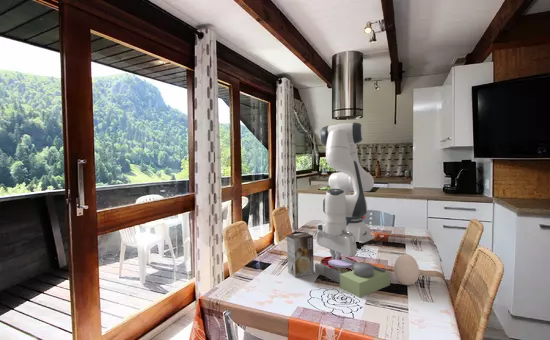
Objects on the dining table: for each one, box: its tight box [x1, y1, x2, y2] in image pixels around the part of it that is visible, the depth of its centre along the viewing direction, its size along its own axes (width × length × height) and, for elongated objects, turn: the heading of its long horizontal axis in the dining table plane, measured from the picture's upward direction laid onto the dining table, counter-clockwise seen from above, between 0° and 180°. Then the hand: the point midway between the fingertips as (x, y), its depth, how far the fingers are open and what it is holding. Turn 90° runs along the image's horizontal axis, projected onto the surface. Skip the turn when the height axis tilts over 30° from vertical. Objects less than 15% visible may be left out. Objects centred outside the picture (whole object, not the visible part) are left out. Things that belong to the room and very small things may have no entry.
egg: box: [393, 253, 420, 286], centre depth 109 cm, size 9×9×12 cm
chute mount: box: [314, 255, 358, 284], centre depth 118 cm, size 17×16×4 cm
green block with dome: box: [339, 261, 391, 298], centre depth 107 cm, size 17×9×8 cm, turn 123°
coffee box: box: [286, 231, 315, 278], centre depth 120 cm, size 9×6×16 cm
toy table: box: [327, 259, 353, 273], centre depth 117 cm, size 10×9×6 cm
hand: (335, 260), depth 122 cm, fingers closed
